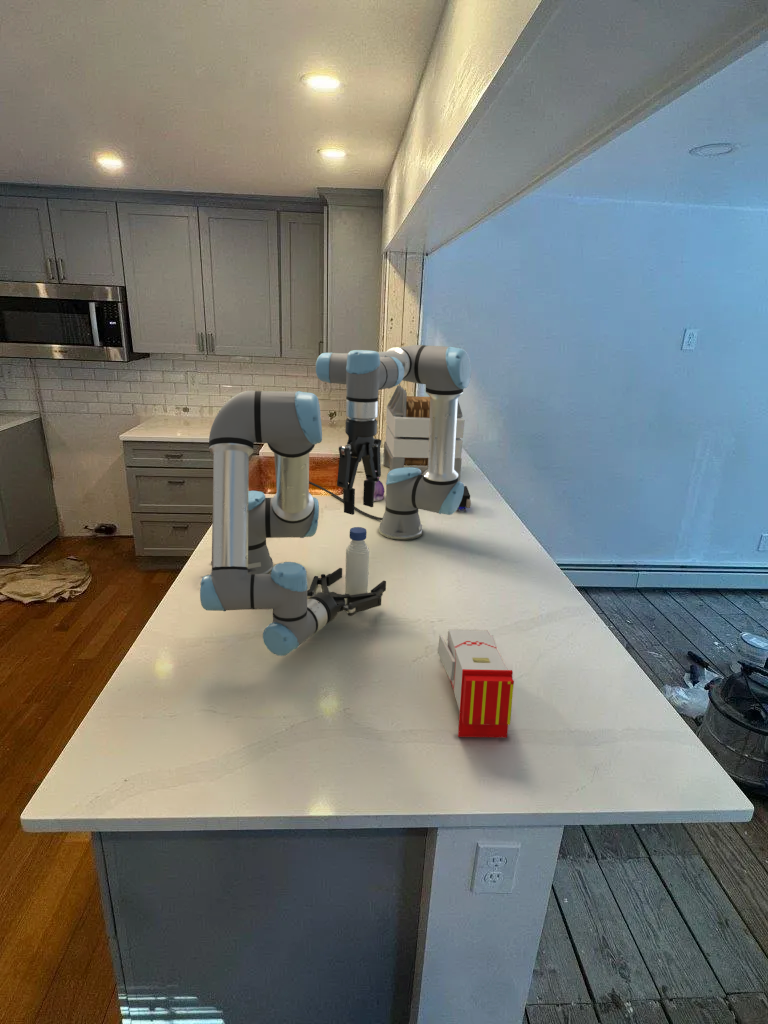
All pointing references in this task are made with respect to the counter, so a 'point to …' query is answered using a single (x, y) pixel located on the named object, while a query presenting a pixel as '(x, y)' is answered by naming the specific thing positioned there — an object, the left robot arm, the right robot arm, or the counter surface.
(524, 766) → the counter surface
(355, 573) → the bottle
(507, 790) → the counter surface
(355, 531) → the cap
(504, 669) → the toy
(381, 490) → the figurine
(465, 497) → the figurine character
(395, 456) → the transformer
